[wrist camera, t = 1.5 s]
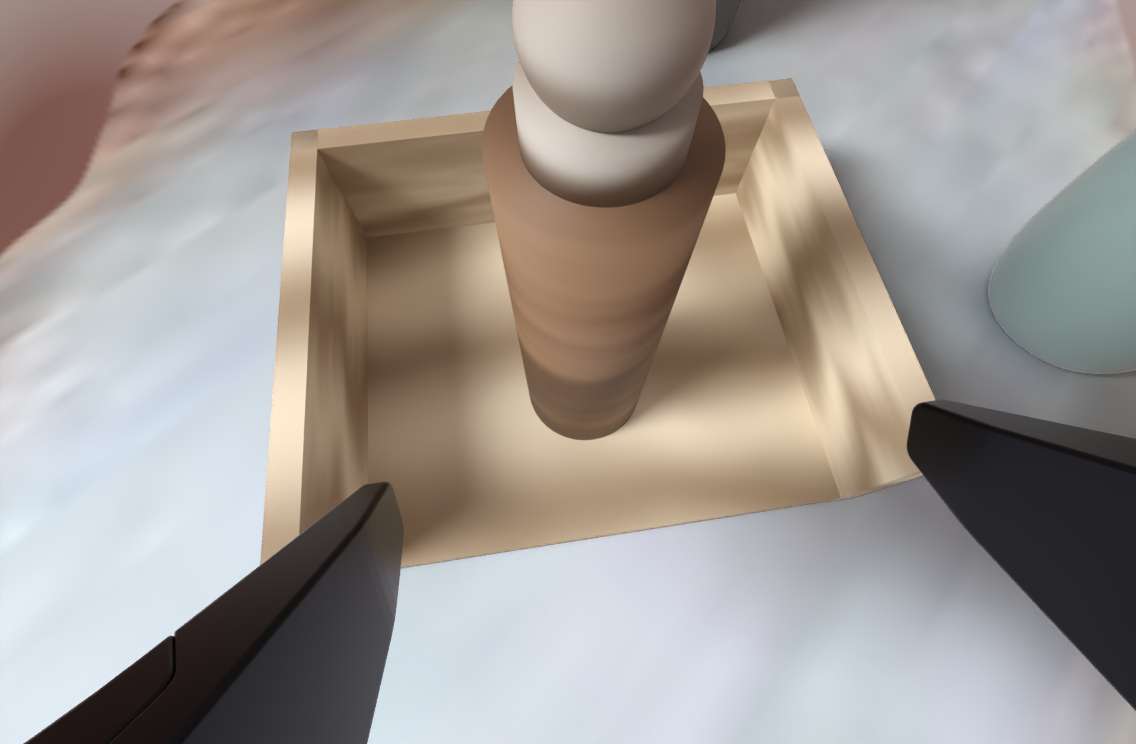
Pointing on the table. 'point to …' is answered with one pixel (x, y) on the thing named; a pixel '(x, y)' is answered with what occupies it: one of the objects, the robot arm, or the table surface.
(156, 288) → the table surface
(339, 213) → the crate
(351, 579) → the robot arm
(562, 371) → the pepper mill
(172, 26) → the table surface
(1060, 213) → the cup
